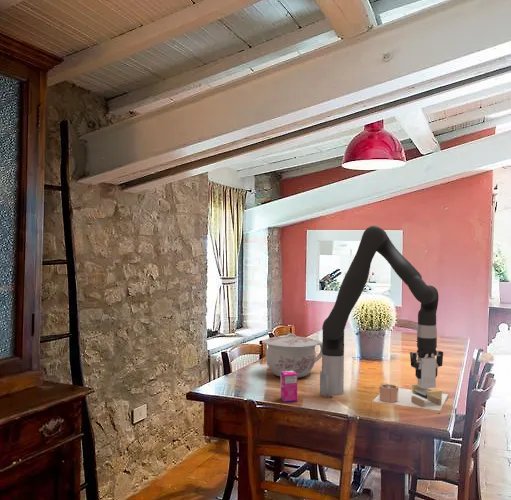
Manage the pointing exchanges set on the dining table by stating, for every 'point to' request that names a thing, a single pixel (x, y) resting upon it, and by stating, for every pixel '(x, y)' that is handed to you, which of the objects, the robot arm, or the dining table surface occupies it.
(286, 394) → the supplement box
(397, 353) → the dining table surface
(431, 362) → the skincare box
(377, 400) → the white square board
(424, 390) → the plate
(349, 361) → the dining table surface
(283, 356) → the chamber pot
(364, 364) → the dining table surface
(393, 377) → the dining table surface
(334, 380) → the robot arm
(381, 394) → the cup
